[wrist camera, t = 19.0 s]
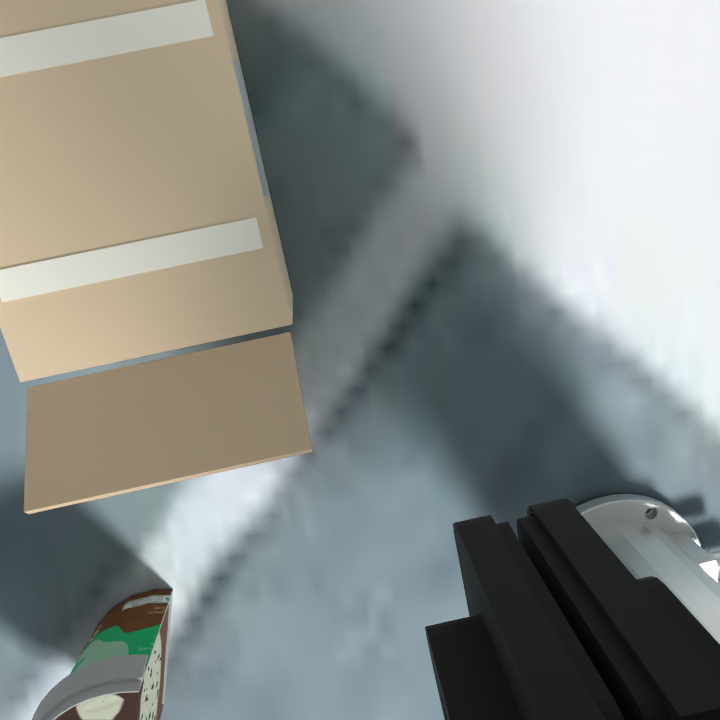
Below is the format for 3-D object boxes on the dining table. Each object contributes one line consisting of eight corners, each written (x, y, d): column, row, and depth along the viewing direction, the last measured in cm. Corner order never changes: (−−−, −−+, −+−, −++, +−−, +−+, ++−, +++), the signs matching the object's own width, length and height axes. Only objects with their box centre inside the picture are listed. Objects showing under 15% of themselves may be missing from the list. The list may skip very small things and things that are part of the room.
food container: (77, 563, 42) (12, 677, 32) (174, 569, 43) (139, 682, 33) (72, 719, 45) (12, 865, 36) (163, 722, 46) (128, 865, 36)
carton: (217, -45, 33) (194, -112, 26) (294, 295, 39) (294, 324, 31) (-37, 3, 33) (-139, -51, 25) (75, 341, 38) (19, 382, 30)
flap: (311, 449, 28) (312, 451, 29) (289, 331, 31) (291, 336, 31) (23, 511, 28) (28, 514, 28) (27, 387, 31) (31, 391, 31)
